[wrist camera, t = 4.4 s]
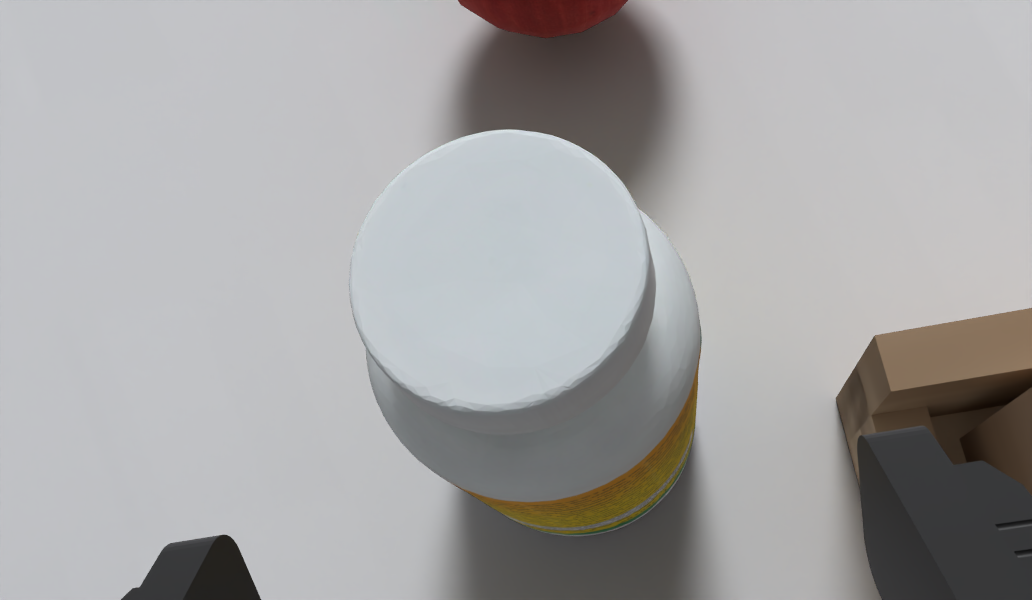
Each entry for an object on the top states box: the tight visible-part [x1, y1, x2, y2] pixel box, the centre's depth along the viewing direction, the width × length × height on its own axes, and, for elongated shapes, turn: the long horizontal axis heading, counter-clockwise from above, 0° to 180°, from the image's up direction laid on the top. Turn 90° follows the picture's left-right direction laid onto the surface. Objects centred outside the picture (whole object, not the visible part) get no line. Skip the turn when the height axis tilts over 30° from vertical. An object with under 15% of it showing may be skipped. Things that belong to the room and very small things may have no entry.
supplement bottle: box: [349, 129, 701, 536], centre depth 16 cm, size 5×5×10 cm
